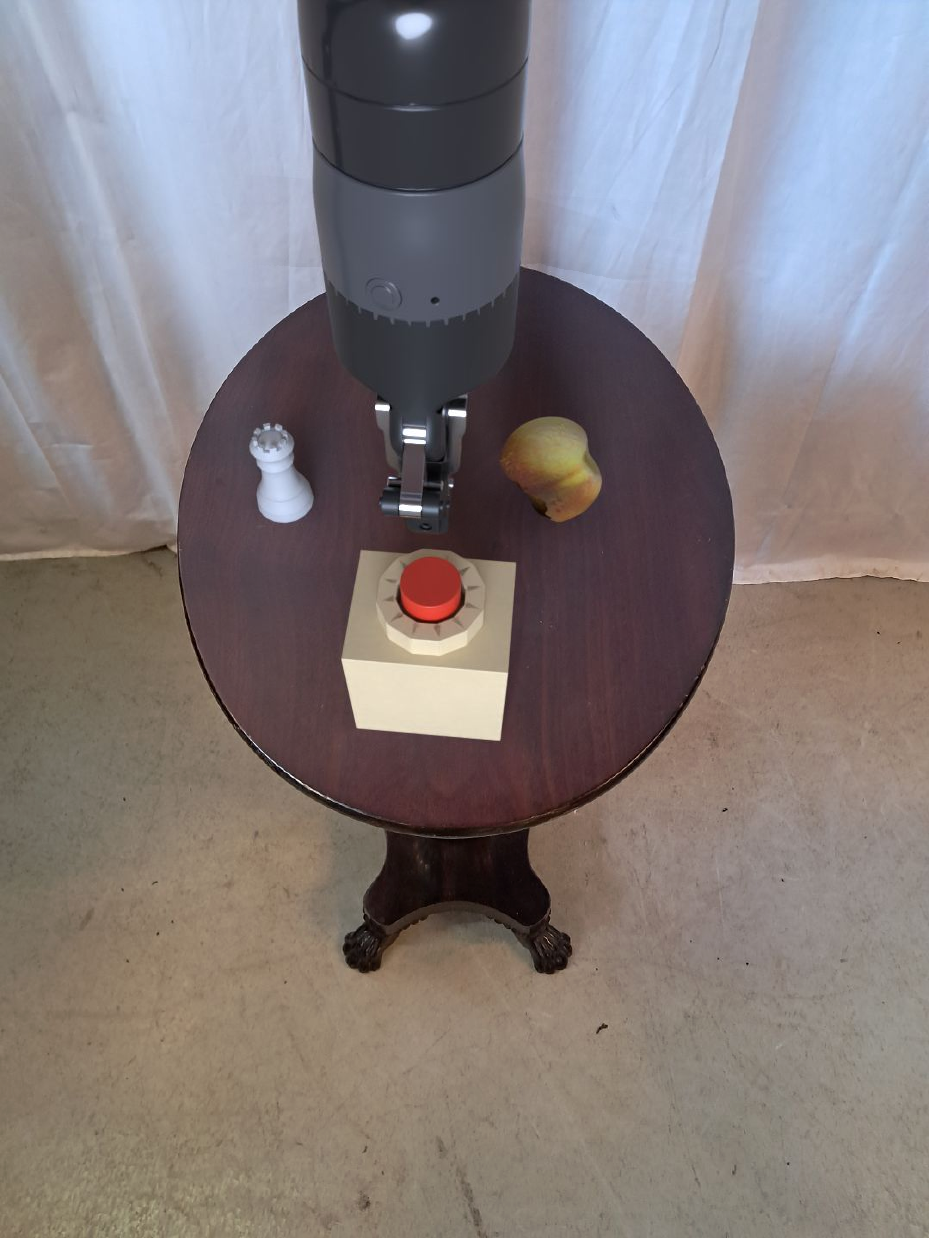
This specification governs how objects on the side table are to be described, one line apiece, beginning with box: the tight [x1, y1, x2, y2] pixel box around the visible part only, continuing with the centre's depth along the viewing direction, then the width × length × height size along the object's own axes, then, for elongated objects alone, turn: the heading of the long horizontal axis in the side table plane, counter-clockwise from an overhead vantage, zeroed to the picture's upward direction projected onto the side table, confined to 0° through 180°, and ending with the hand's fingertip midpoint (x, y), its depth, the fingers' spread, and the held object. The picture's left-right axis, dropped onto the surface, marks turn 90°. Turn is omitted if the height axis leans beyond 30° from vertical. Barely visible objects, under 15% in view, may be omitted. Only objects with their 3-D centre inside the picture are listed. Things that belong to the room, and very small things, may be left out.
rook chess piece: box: [248, 422, 315, 524], centre depth 70 cm, size 4×4×8 cm
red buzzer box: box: [340, 548, 517, 742], centre depth 60 cm, size 10×8×12 cm
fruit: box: [498, 416, 603, 523], centre depth 70 cm, size 8×8×8 cm
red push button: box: [400, 557, 461, 622], centre depth 54 cm, size 4×4×2 cm
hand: (429, 521), depth 49 cm, fingers closed
